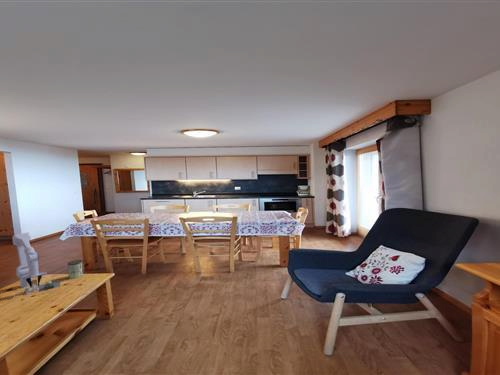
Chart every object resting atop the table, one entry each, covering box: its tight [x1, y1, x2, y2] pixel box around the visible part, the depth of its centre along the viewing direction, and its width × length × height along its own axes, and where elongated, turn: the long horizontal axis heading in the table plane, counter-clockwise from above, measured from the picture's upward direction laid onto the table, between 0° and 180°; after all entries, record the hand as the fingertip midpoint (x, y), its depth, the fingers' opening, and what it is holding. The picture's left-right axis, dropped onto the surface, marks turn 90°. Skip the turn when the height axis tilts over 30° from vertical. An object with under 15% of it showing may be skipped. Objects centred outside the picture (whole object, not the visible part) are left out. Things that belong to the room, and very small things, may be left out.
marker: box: [31, 279, 38, 291], centre depth 190 cm, size 3×3×8 cm
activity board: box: [23, 280, 61, 296], centre depth 195 cm, size 15×22×1 cm
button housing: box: [44, 283, 55, 291], centre depth 194 cm, size 6×6×2 cm
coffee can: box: [67, 259, 84, 280], centre depth 215 cm, size 10×10×14 cm
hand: (34, 286), depth 190 cm, fingers open, 4 cm apart
